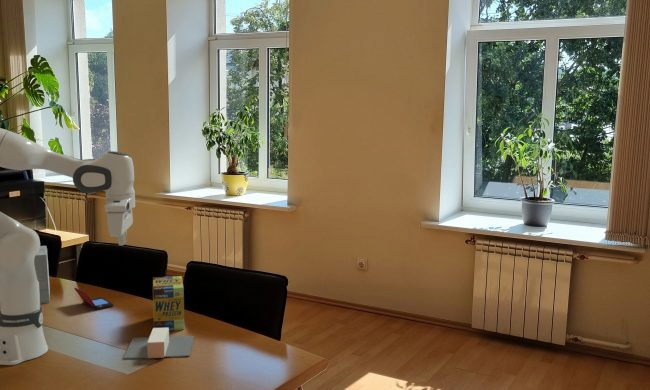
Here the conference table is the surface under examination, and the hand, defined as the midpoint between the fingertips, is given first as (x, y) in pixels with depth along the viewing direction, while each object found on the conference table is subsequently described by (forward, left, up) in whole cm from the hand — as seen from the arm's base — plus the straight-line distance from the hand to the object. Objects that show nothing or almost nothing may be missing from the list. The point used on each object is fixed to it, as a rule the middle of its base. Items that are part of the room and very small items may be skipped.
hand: (122, 244), depth 192 cm
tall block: (+12, -15, -30) cm, 36 cm away
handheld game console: (-19, +38, -34) cm, 54 cm away
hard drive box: (-43, +49, -33) cm, 73 cm away
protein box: (+12, +16, -33) cm, 39 cm away
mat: (+12, -6, -33) cm, 36 cm away
